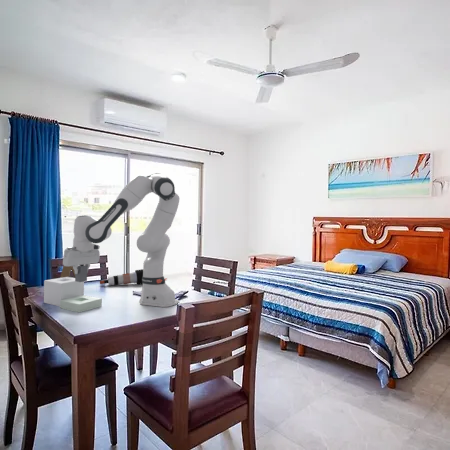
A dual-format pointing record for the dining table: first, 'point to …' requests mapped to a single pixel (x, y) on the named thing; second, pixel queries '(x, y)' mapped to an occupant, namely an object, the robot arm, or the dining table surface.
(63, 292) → the block
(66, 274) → the photo frame
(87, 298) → the plate
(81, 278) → the plug
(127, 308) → the dining table surface
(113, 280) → the grey banded tapered cylinder
